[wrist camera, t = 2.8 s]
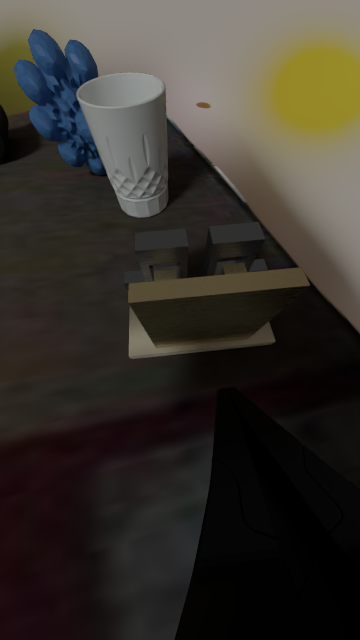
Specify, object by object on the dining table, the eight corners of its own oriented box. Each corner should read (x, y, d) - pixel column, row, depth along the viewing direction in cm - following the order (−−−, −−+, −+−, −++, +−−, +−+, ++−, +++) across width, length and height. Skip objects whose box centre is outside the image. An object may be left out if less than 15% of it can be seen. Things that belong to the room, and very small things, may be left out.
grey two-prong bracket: (255, 292, 17) (293, 237, 11) (133, 304, 17) (106, 254, 11) (250, 277, 18) (283, 218, 12) (134, 288, 18) (108, 234, 12)
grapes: (75, 202, 25) (-11, 49, 14) (63, 178, 27) (-19, 32, 16) (148, 176, 27) (123, 26, 16) (131, 156, 29) (99, 13, 18)
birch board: (270, 344, 16) (275, 341, 15) (132, 358, 16) (128, 356, 15) (250, 279, 19) (253, 273, 18) (132, 290, 19) (130, 285, 18)
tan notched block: (248, 339, 15) (310, 285, 8) (156, 348, 15) (128, 303, 7) (236, 294, 17) (277, 216, 9) (153, 302, 17) (130, 229, 9)
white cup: (183, 202, 24) (183, 86, 15) (139, 230, 22) (108, 116, 13) (148, 178, 27) (130, 66, 18) (105, 202, 25) (59, 89, 16)
